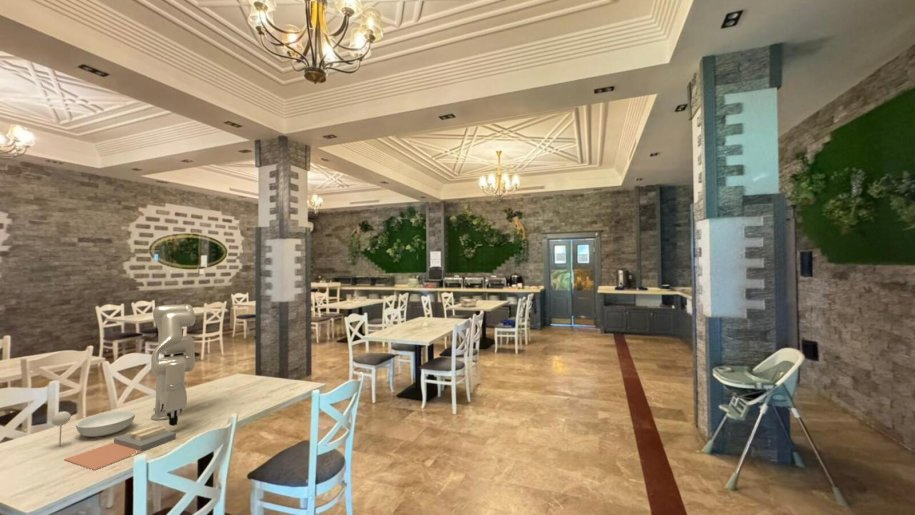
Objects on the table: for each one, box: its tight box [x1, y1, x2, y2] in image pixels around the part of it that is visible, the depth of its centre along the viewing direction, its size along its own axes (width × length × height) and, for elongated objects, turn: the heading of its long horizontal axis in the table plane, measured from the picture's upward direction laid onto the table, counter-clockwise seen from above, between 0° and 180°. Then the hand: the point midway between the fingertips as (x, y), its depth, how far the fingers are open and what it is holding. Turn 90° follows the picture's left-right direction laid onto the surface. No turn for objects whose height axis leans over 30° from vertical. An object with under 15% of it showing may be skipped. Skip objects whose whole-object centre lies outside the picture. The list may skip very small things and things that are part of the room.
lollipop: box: [51, 411, 72, 447], centre depth 163 cm, size 6×6×15 cm
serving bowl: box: [75, 410, 136, 437], centre depth 178 cm, size 21×21×7 cm
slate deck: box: [113, 426, 177, 452], centre depth 168 cm, size 20×14×2 cm
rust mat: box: [63, 442, 143, 471], centre depth 154 cm, size 22×16×1 cm
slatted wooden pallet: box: [129, 424, 167, 441], centre depth 169 cm, size 8×10×2 cm
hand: (173, 424), depth 179 cm, fingers closed
